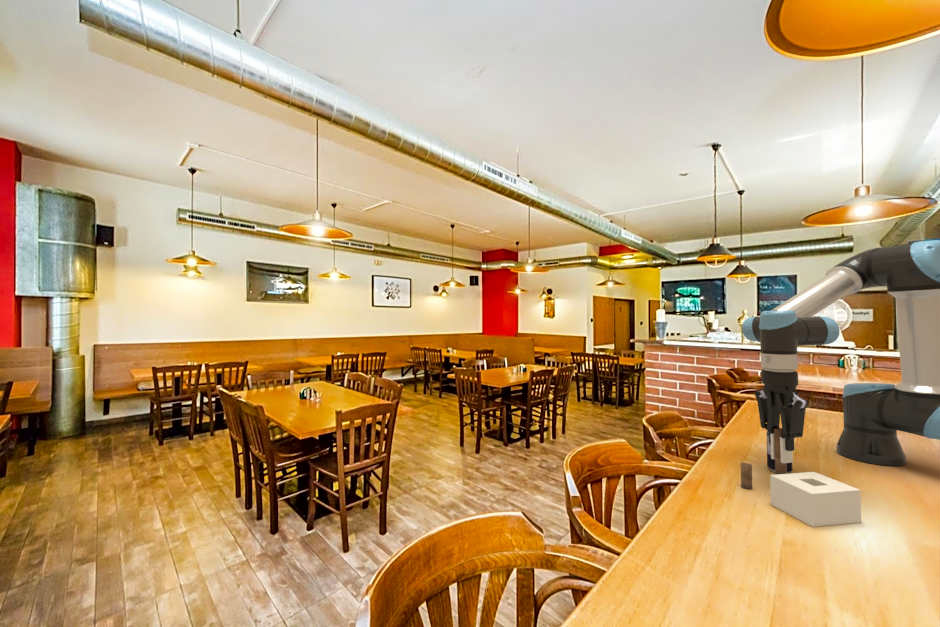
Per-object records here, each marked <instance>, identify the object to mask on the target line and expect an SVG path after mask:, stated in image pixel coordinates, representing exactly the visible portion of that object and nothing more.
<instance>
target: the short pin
mask: <svg viewBox="0 0 940 627" xmlns="http://www.w3.org/2000/svg"><path fill="white" fill-rule="evenodd" d="M740 487H741V488H742V489H745V490H753V465H752V464H750V463H747V462H741V463H740Z"/></svg>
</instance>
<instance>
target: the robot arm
mask: <svg viewBox="0 0 940 627" xmlns="http://www.w3.org/2000/svg"><path fill="white" fill-rule="evenodd" d="M878 287H886V291H887V294H888V295H890V296H892V297H893V298H895V307H896V309H895V310H896V321H897V333H898V334H897V335H898V336H897V338H898V351H899V361H900V362H899V363H900V376H901V381H900V382H899V383H897V384H896V385H895V384H894V383H885V382H883V383H880V382H879V383H878V382H876V383H874V382H872V383H870V382H860V383H859V382H858V383H857V382H855V383H848V384H846V385H844V386H843V389H842V390H843V392H842V409H843V410H842V411H843V412H842V414H843V416H842V417H843V430H842V432H841V434H840V435H839V436H840V437H839V438H838V442H837V443H836V453H838V454H839V455H840V456H843V457H845V458H848V459H852V460H855V461H859V462H862V463H863V462H864V463H868V464H872V465H880V466H889V467H893V466H894V467H900V466H905V465H906V464H907V456H906V454H905V452H904V450H903V447H902V445H901V442H900V440H899V439H898V435H897V434H898V431H899V432H903V433H907V434H912V435H916V436H921V437H925V438H927V439H931V440H938V441H940V240H939V239H938V240H935V239H934V240H933V239H932V240H923V241H922V240H920V241H915V242H909V243H904V244H903V243H902V244H896V245H891V246H890V245H888V246H884V247H875V248H870V249H868V250H867V249H866V250H864V251H862V252H859V253H857V254H855V255H853V256H850V257H849V258H847V259H845V260H843V261H841V262H839V263H838V264H836V265H834V266H833V267H831V268H830V269H828V270H827V271H826V273H825V275H824V276H823V277H822V278H820V279H819V280H817V281H816V282H814V283H812V284H810V285H809V286H807V287H806V288H804V289H803V290H802V291H800V292H798V293H797V294H795V295H793V296H792V297H790V298H789V299H787V300H786V301H784V302H783V303H781V304H779V305H777V306H776V307H775V308H772V310H763V311H761V312H760V314H759V316H758V315H755V316H750V317H747V318H746V319H745V320H744V321H743V322H742V325H741V332H742V335H743V337H745V338H746V340H749V341H752V342H758V343H760V367H761V368H762V370H760V376H761V378H760V380H761V384H763V387H762V390H755V391H754V396H755V398H756V400H757V407H758V408H757V409H758V415H759V421H760V427H761V429H765V431H766V433H767V432H768V433H769V444H770V445H771V459H775V437H774V428H780V423H781V428H782V432H783V435H781V437H780V455H781V463H792V464H793V463H794V461H793V459H794V457H793V456H794V455H793V453H794V451H795V439H797V438H798V439H799V438H802V437H803V436H804V426H805V418H806V409H807V408H808V406H809V403H810V402H809V401H808V400H807V399H803V398H801V397H799V394H798V392H797V387H798V385H799V373H798V371H797V370H798V369H799V364H798V362H799V361H798V347H799V346H800V347H802V346H805V347H806V346H824V345H830V344H832V343H834V342H836V341H837V340H838V338H839V336H840V326H839V325H838V323H837V322H836V321H835V320H834V319H833V318H831V317H827V316H820V315H818V316H815V315H817V314H818V313H820V312H822V311H823V310H825V309H827V308H829V306H831V305H832V304H834V303H835V302H837V301H840V299H842V298H843V297H845V296H849V295H854V294H857V293H858V292H860V291H861V290H865V289H870V288H878Z"/></svg>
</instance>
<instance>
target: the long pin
mask: <svg viewBox="0 0 940 627" xmlns="http://www.w3.org/2000/svg"><path fill="white" fill-rule="evenodd" d="M781 428H782V427H779V428H774V437H775V472H774V475H777V474H787V463H781V455H780V437H781V435H783V432H782V429H781Z"/></svg>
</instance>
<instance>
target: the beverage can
mask: <svg viewBox="0 0 940 627" xmlns="http://www.w3.org/2000/svg"><path fill="white" fill-rule="evenodd" d="M780 428H781V429H782V427H780ZM766 466H767V467H768V469H769V470H771V472H774V473H775V459H771V445H770V444H769V433H768V432H767V431H766ZM791 472H793V463H787V474H790V473H791Z"/></svg>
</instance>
